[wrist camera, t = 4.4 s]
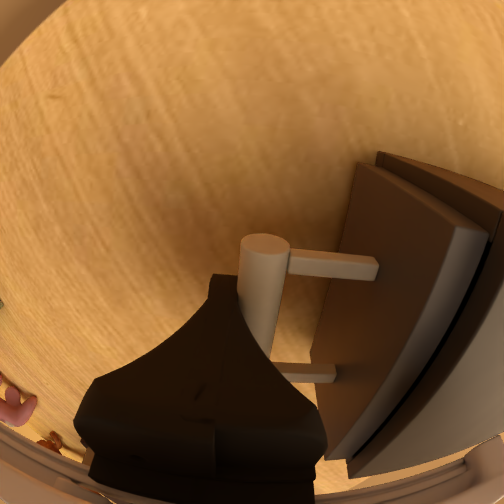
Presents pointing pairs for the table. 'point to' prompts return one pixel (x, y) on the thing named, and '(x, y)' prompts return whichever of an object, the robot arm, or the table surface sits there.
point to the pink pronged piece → (15, 407)
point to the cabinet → (450, 346)
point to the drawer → (370, 300)
